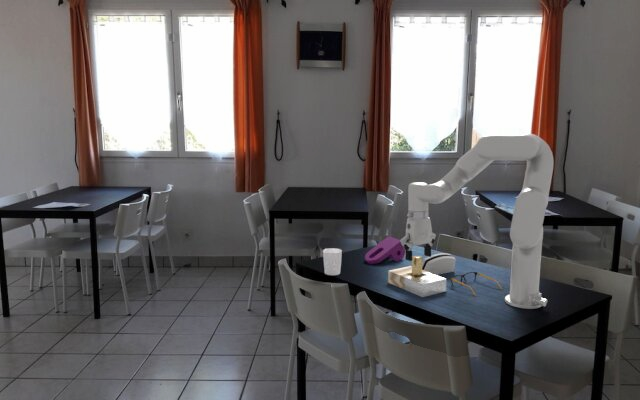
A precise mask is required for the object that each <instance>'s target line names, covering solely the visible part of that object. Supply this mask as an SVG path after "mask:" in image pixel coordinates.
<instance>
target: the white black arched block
mask: <svg viewBox="0 0 640 400" xmlns="http://www.w3.org/2000/svg"><path fill="white" fill-rule="evenodd" d="M456 262H457V260H456V257H454V256H453V255H452V254H450V253H446V252H443V253H442V252H441V253H436V254H431V257H428V256H426V257H425V258H424V259H422V270H424V271H427V272H429V273H432V274H435V275H438V276H439V275H442V274H448V273H454V272H455V271H454V270H455V266H456Z"/></svg>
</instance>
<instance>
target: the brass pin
mask: <svg viewBox="0 0 640 400" xmlns="http://www.w3.org/2000/svg"><path fill="white" fill-rule="evenodd" d="M422 262H423V256H421V255H412V261H411V266H412V277H415V278H418V277H422Z"/></svg>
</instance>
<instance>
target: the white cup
mask: <svg viewBox="0 0 640 400" xmlns="http://www.w3.org/2000/svg"><path fill="white" fill-rule="evenodd" d="M342 251H343V250H342V249H341V248H334V247H333V248H332V247H331V248H325V249H322V255H323V267H324V268H323V269H324V274H325V275H327V276H339V275H340V274H341V269H342V268H341V267H342V254H343V253H342Z"/></svg>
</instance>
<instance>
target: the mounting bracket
mask: <svg viewBox="0 0 640 400" xmlns="http://www.w3.org/2000/svg"><path fill="white" fill-rule="evenodd" d="M400 240H401V239H398V238H395V237H393V236H386V237H385V239H382V241H380V242H379V243H378V244H376V245H375V246H373V248H371V249H370V250H369V251H368V252H366V254H365V255H364V259H365V261H366V263H367V264H370V265H376V264H378V263H381V262H382V261H383V260H385V259H387V258H389V259H390V260H391V261H395V262H399V261H402V260H403V259H404V257H405V256H406V250H404V248H403V247H402V244H401V242H400Z"/></svg>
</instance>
